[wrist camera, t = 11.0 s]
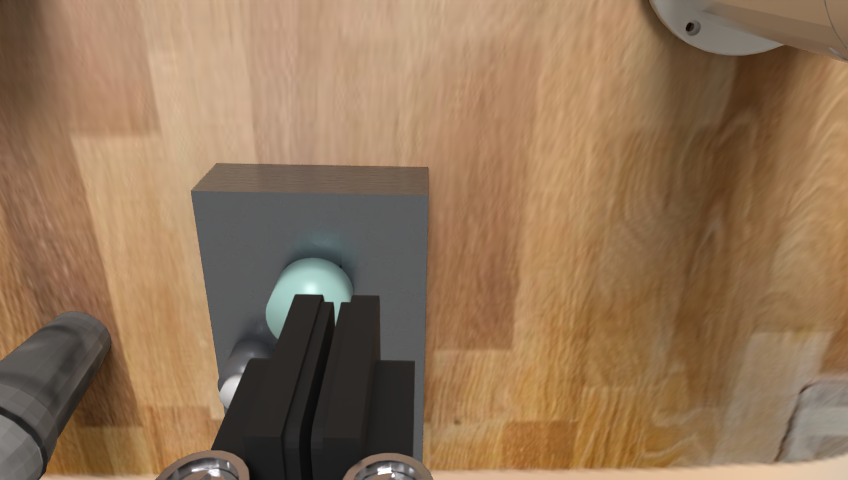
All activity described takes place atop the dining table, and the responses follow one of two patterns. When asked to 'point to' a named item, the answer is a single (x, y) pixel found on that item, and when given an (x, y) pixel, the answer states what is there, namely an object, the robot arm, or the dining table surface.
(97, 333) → the beverage cup
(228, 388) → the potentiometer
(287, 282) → the teal knob
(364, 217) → the mount
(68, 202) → the dining table surface
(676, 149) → the dining table surface
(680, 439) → the dining table surface
